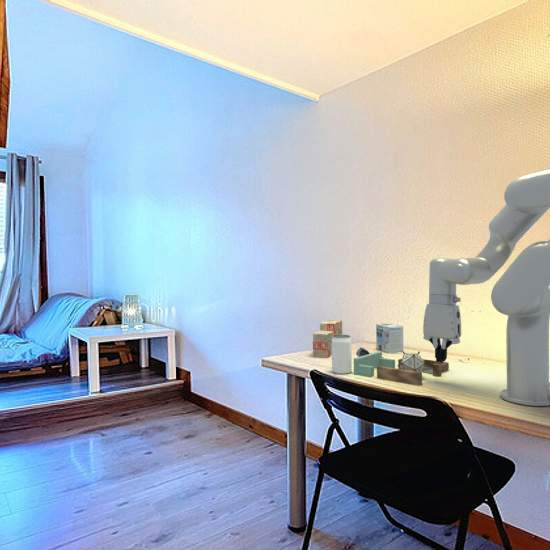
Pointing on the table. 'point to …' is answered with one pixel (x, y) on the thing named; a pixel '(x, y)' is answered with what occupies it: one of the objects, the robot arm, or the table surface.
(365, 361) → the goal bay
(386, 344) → the light bulb box
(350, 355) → the can
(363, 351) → the snack package
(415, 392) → the table surface
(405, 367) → the game die
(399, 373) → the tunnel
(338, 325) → the stack of blocks
